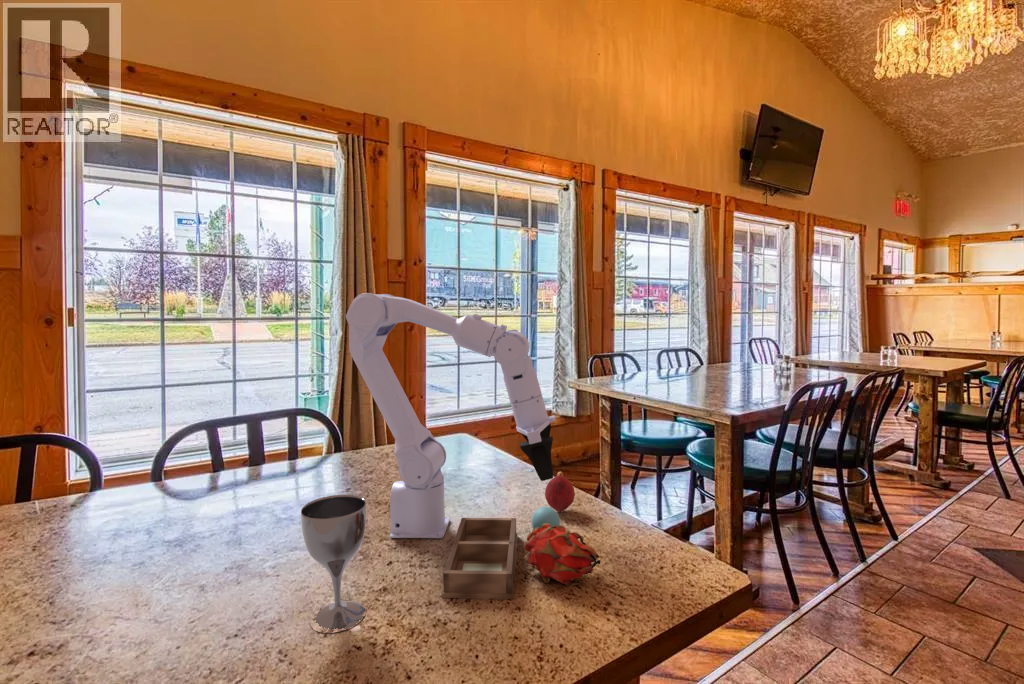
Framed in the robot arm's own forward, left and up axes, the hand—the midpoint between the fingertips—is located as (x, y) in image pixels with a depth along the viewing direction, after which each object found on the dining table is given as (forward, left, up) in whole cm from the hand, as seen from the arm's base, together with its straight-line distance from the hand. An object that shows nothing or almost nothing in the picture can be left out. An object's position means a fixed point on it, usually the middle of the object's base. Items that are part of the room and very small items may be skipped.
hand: (546, 472), depth 89 cm
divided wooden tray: (-10, -10, -11) cm, 18 cm away
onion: (+3, +10, -12) cm, 15 cm away
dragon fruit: (+2, -14, -12) cm, 18 cm away
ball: (0, 0, -9) cm, 9 cm away
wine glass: (-28, -24, -12) cm, 39 cm away
